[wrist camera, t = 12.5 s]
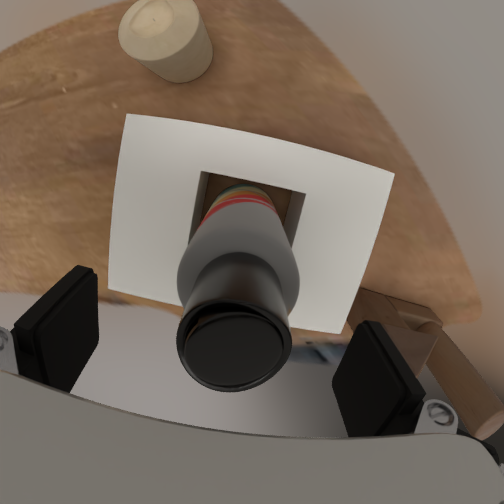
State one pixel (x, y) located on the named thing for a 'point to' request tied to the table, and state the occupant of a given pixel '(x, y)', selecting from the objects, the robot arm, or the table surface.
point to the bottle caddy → (254, 169)
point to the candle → (167, 38)
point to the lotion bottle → (237, 293)
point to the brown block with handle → (433, 357)
